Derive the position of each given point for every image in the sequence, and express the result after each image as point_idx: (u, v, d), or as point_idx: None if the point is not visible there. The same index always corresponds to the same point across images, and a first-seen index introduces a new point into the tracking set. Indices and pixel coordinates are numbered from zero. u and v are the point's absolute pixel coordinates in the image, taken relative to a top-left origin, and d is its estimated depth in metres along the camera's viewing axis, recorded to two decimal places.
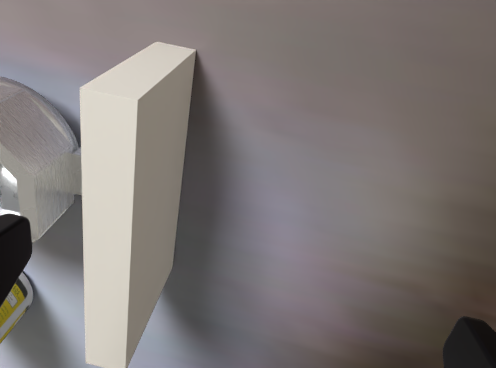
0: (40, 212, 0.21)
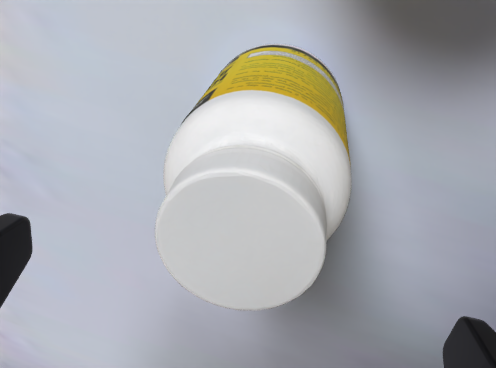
0: None
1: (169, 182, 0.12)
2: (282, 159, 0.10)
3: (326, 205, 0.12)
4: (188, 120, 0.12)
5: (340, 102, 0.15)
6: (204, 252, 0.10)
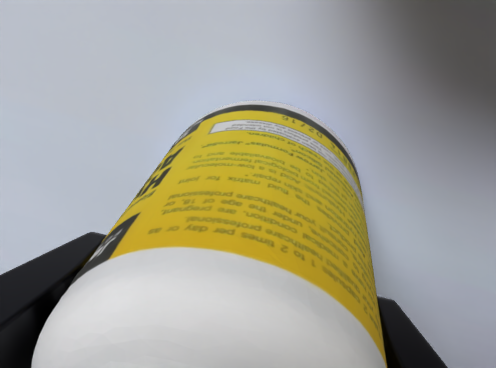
0: None
1: None
2: None
3: None
4: (64, 305, 0.06)
5: (360, 206, 0.09)
6: None
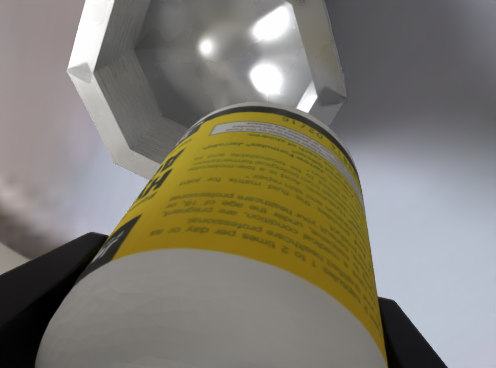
0: None
1: None
2: None
3: None
4: (67, 306, 0.06)
5: (361, 207, 0.09)
6: None
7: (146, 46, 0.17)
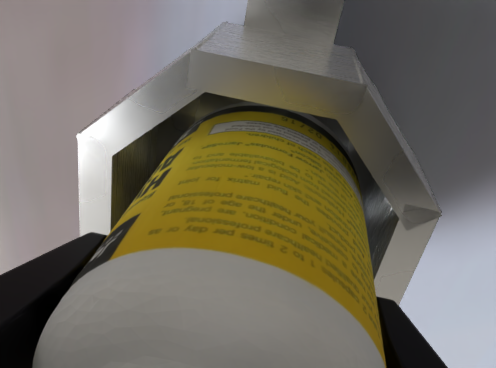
0: (298, 66, 0.09)
1: None
2: None
3: None
4: (65, 305, 0.06)
5: (360, 206, 0.09)
6: None
7: None
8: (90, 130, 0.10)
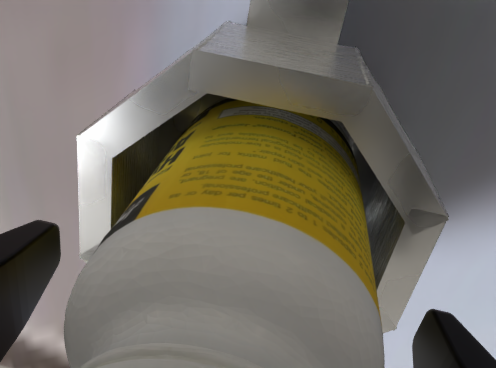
0: (302, 67, 0.09)
1: (69, 357, 0.07)
2: None
3: None
4: (97, 258, 0.07)
5: (357, 185, 0.10)
6: None
7: None
8: (90, 132, 0.10)
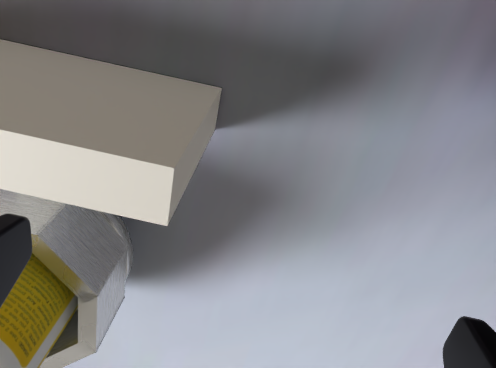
0: None
1: None
2: None
3: None
4: None
5: None
6: None
7: None
8: None
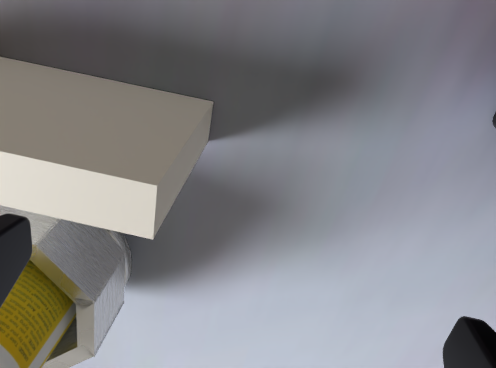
0: None
1: None
2: None
3: None
4: None
5: None
6: None
7: None
8: None
